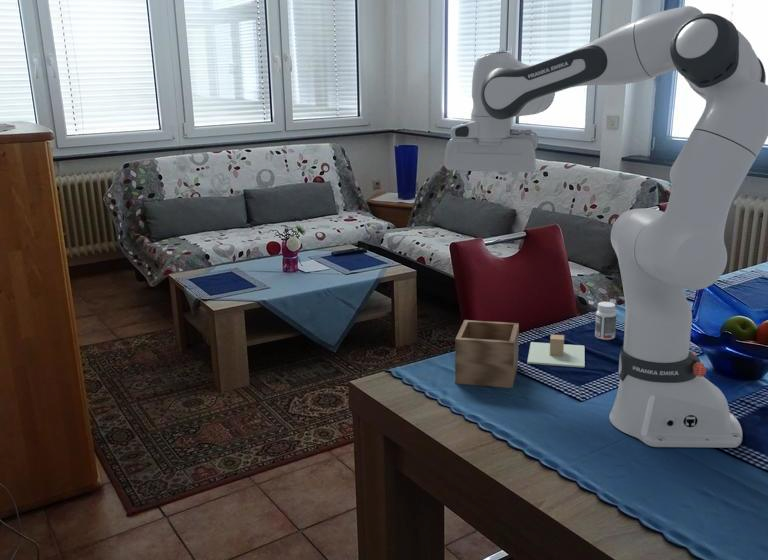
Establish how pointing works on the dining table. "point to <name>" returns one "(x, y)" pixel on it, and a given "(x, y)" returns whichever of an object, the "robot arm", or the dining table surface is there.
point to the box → (486, 353)
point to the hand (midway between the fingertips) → (488, 191)
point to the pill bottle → (605, 321)
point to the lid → (556, 353)
